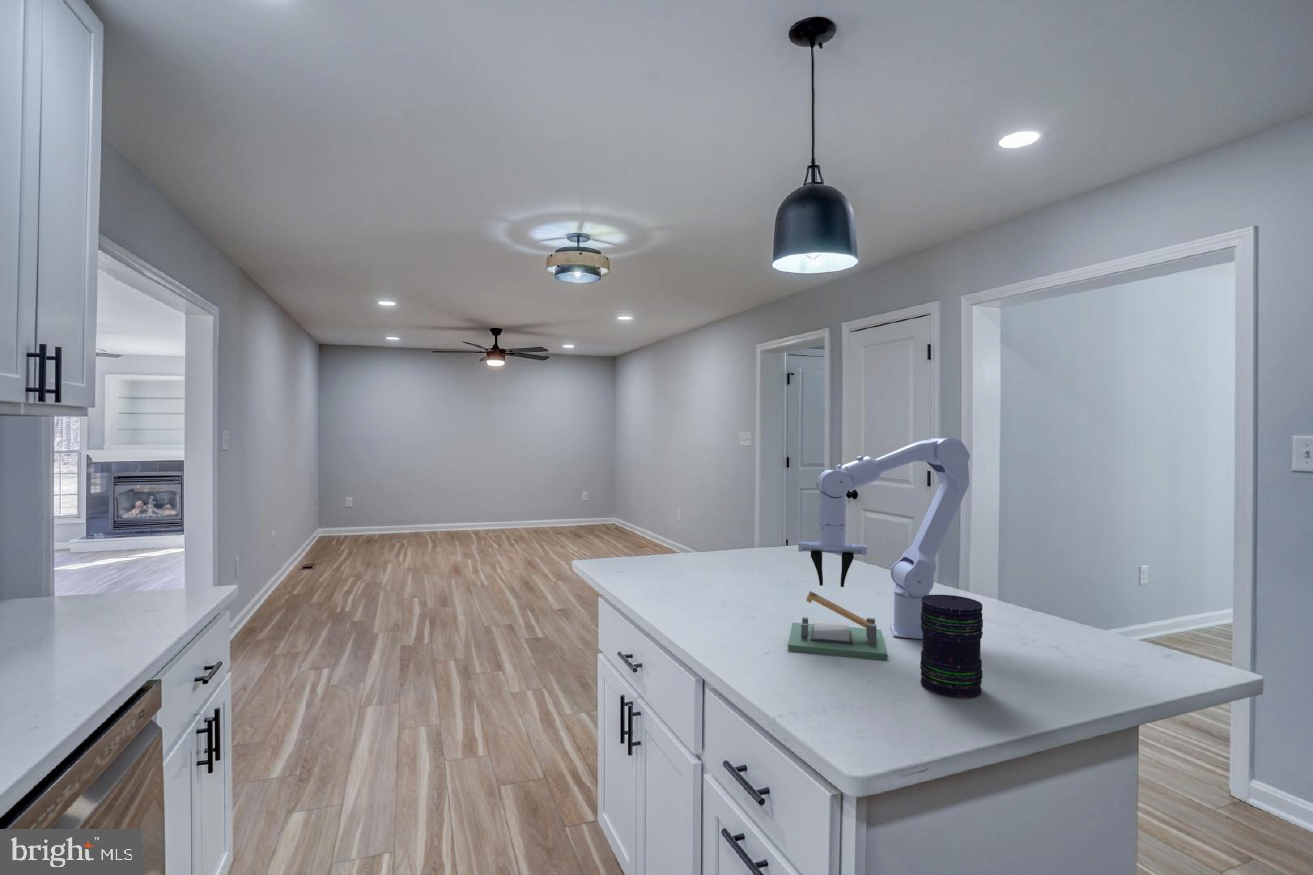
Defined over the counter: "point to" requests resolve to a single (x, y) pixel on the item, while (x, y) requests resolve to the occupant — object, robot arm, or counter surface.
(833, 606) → the hold-down strap
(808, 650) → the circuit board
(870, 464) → the robot arm
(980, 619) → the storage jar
